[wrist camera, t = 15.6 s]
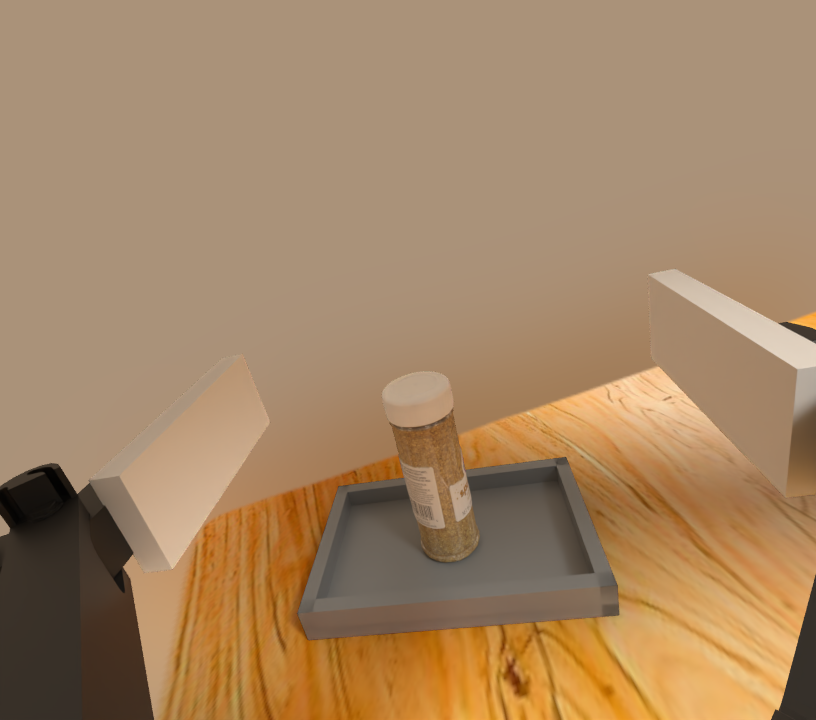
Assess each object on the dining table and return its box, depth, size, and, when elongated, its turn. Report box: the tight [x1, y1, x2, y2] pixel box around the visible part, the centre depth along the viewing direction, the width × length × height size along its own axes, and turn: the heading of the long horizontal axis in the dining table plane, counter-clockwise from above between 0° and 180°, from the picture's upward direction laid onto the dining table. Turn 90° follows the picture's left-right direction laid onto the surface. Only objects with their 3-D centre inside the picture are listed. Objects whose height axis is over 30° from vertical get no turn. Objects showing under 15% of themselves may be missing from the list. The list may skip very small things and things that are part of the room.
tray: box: [297, 457, 619, 640], centre depth 36 cm, size 20×13×2 cm, turn 86°
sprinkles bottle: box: [382, 371, 480, 562], centre depth 33 cm, size 5×5×14 cm
